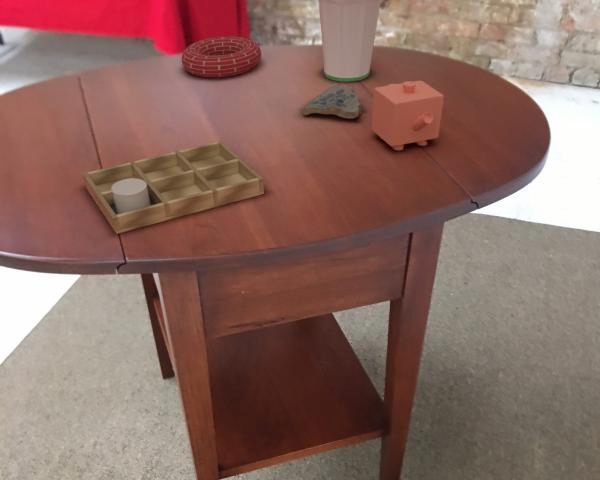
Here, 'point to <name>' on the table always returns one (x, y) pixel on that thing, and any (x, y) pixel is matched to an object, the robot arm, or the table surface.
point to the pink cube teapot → (406, 113)
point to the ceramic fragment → (336, 103)
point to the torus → (221, 56)
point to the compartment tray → (177, 184)
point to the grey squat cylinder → (130, 195)
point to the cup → (348, 37)
